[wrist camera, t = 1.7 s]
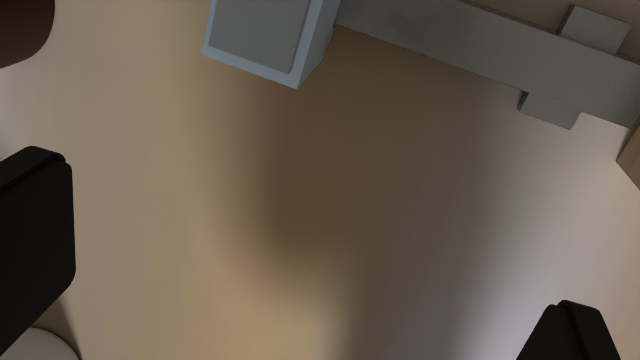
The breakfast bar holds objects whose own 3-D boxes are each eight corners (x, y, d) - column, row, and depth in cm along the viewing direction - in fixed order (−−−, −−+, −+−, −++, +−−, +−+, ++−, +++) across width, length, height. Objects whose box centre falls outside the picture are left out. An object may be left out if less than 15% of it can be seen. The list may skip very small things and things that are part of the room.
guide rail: (663, 35, 26) (692, 47, 23) (600, 137, 29) (618, 159, 26) (179, -134, 27) (150, -142, 24) (163, -20, 30) (135, -15, 27)
